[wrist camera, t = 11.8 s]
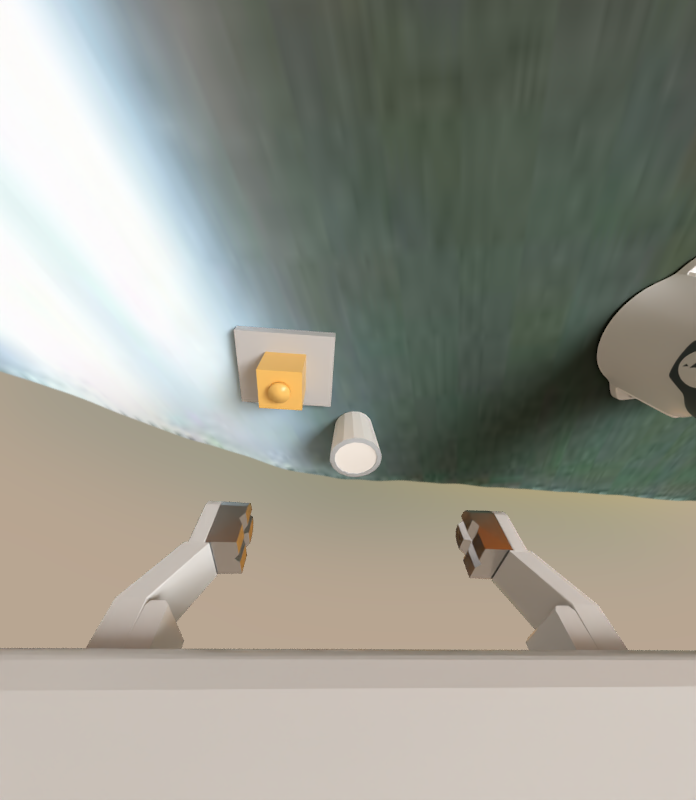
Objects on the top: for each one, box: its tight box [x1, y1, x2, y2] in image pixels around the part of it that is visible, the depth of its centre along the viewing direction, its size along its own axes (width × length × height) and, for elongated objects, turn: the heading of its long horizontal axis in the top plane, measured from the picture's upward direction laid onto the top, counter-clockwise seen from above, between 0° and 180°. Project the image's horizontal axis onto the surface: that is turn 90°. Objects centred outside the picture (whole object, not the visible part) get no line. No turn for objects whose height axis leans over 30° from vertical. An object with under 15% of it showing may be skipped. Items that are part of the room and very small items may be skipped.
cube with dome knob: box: [256, 352, 306, 410], centre depth 36 cm, size 5×5×6 cm
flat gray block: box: [234, 326, 335, 407], centre depth 38 cm, size 12×10×5 cm
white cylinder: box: [330, 411, 382, 477], centre depth 43 cm, size 7×7×7 cm
